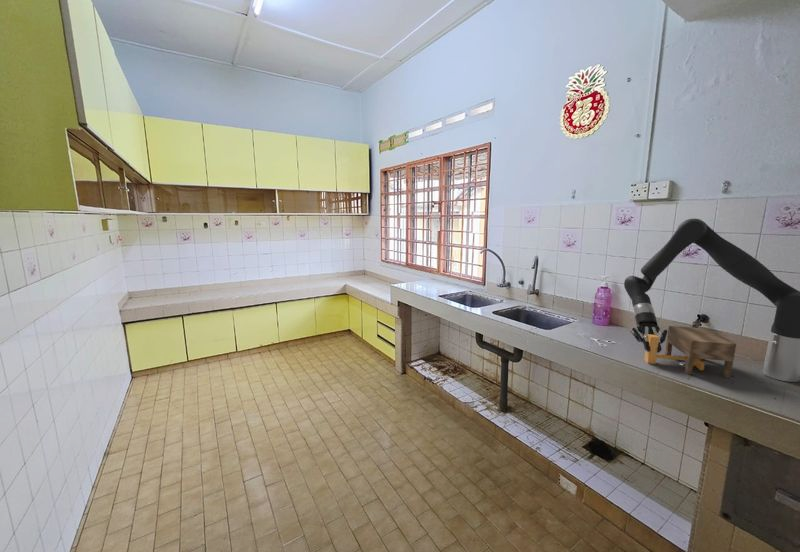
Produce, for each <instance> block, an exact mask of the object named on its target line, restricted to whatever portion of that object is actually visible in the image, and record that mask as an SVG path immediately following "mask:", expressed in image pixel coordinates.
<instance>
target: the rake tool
mask: <svg viewBox="0 0 800 552" xmlns="http://www.w3.org/2000/svg"><path fill="white" fill-rule="evenodd" d="M658 336H659V335H658ZM658 336H657V335H652V334H648V342H649V345H650V349H651V350H650V351H649V352H647V350H645V354H644V361H645V362H646V364H653V365H655V364H656V365H657V359H667V360H677V361H686V360H687V356H686V355H675V354H674V355H673V354H671V355H665V354H661V353H657V349H658V342H659V339H660V337H658ZM705 364H706V362H705V360H701V359H699V358H694V363H693V365H694V368H695V367H696V369H698V370H699V371H705Z"/></svg>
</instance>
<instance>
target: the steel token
mask: <svg viewBox="0 0 800 552" xmlns="http://www.w3.org/2000/svg"><path fill="white" fill-rule="evenodd" d="M678 365H679V366H681V367H683V368H685V367H686V361H679V362H678ZM694 368H695V366H694V365H693V369H694Z"/></svg>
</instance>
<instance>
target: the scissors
mask: <svg viewBox="0 0 800 552" xmlns="http://www.w3.org/2000/svg"><path fill="white" fill-rule="evenodd" d="M573 335H576V336H578V337H581V338H583V337H582V336H583V335H581V333H579V332H578V334H573ZM590 338H591V339H592V341H594V340H595V342H596V343H597V344H598V346H600V347H602V346H603V348H607V347H606V346H608V345H607V344H611V343H612V344H611V345H613V343H614V344H616V343H617V345H620V344H621V343H620V342H615V341H613V340H610V341H611V342H608V341H609V340H603V339H597V338H592V337H590ZM591 339H590V340H591ZM597 340H600V341H597ZM600 342H605V343H607V342H608V343H607V344H604V343H600ZM602 344H603V345H602Z"/></svg>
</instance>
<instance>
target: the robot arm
mask: <svg viewBox="0 0 800 552" xmlns="http://www.w3.org/2000/svg"><path fill="white" fill-rule="evenodd" d="M693 243H694V244H695V245H696V246H698V247H700V248H701V249H703V251H704V252H706V253H707V254H708V256H709V257H711V259H712V260H713V262H715V263H716V264H717V265H718V266H719V267H721V269H722V270H724V271H725V272H727V273H728V274H729V275H730V276H732V277H734V278H735V279H736V280H738V281H740V282H741V283H742V284H744V285H746V286H748V287H751V288H752V289H754V290H756V291H758V292H759V293H760V294H761V295H763V296H764V297H765V298H766V299H767V300H768V301H770V302H771V303H772V304H773V305H774V306H775V308H776V311H775V314H774V318H773V319H774V320H773V322H772V325H771V327H770V334H769V339H768V342H767V343H768V344H767V348H766V352H765V353H766V354H765V359H764V363H763V367H762V368H763V369H762V374H763V375H765V376H766V377H769V378H772V379H774V380H778V381H783V382H789V383H798V382H800V290H797V289H796V288H794V287H793V286H791V285H789V284H788V283H786V282H784V281H783V280H781V279H780V278H778V277H777V276H776V275H775V274H774V273H773V272H772V271H771V270H769V268H767V267H766V266H765V265H764V264H763V263H761V262H760V261H759V260H758V259H757V258H755V257H754V256H752V255H751V254H749V253H748V252H746V251H745V250H743V249H741V247H738V246H737V245H735V244H733V243H732V242H730V241H728V240H726V239H725V238H723V237H722V236H721V235H719V234H718V233H717V232H716V231H715V230H713V229H712V228H711V227H710V226H709V225H708V224H707V223H706V222H705V221H703V220H702V219H699V218H687V219H686V220H683V221H682V222H681V223H680V224H678V226H677V229H676V230H675V232H674V233H673V234H672V236H671V237H670V239H669V240H668V241H667V243H665V244H664V245H663V247H662V248H661V249H660V250H659V251H658V252H657V253H655V254H654V255H653V256H652V257H651V258H650V259H649V260H647V262H646V263H645V264H644V265H643V266H642V267H641V269H640V273H641V274H642V275H643V277H642V278H641V277H639V276H635V275H629V276H627V277H626V278H625V279H624V282H623V286H624V289H625V292H626V293H627V295H628V296H629V298H630V300H631V305H632V308H633V316H634V319H635V323H636V327H633V328H631V329H630V333H631V335H633V336H634V339H636V341H637V342H638V343H642V344H643V347H644V350H645V351H646V350H647V352H649V351H650V350H651V349H650V345H649V342H648V334H652V335H657V336H658V337H659V335H660V337H659V342H658V349H657V354H660V353H661V351H662V349H663V348H662V344H663V343H664V342H665V341H666V340H667V336H668V330H667V329H662V328H660V326H659V324H658V319H657V316H656V314H655V310H654V307H653V305H652V301H651V298H650V296H649V294H647V292H648V291H650V290H651V288H652V287H653V285H654V283H655V281H656V280H657V278H658V276H660V274H661V273H663V272H664V270H666V269H667V268H668V267H669V266H670V264H671V263H673V261H674V260H675V259H676V258H677V256H678V255H680V253H682V252H683V251H684V250H685V249H686V248H687V247H689V246H690V245H692V244H693ZM658 333H659V334H658Z"/></svg>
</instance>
